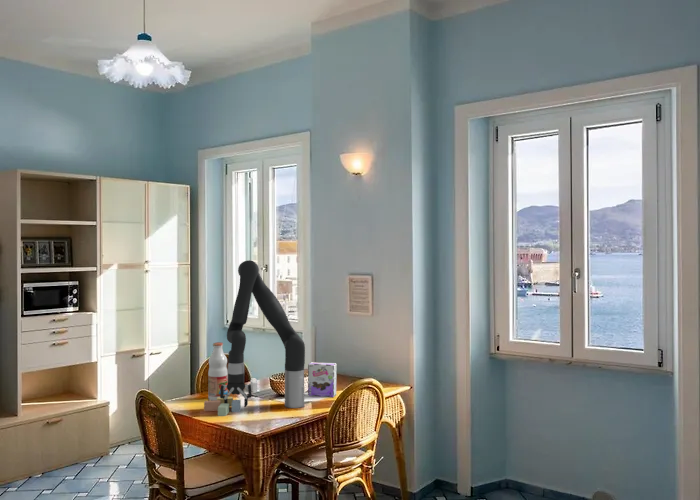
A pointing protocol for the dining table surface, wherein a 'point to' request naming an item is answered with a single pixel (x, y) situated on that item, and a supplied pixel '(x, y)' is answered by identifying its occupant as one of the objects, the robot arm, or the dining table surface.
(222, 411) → the sage brick
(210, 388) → the fruit juice
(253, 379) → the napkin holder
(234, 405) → the slate brick
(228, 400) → the ochre brick
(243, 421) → the dining table surface
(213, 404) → the terracotta brick
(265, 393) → the dining table surface
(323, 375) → the candy box
